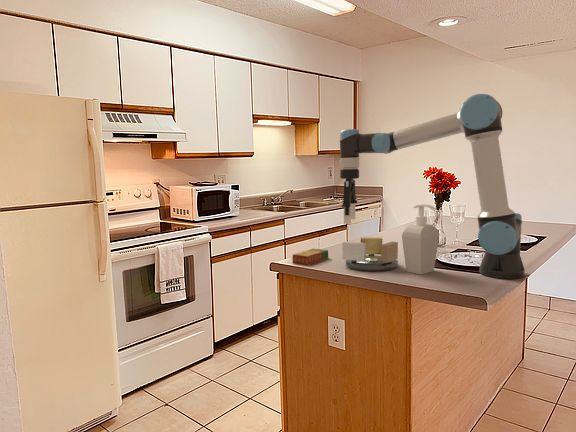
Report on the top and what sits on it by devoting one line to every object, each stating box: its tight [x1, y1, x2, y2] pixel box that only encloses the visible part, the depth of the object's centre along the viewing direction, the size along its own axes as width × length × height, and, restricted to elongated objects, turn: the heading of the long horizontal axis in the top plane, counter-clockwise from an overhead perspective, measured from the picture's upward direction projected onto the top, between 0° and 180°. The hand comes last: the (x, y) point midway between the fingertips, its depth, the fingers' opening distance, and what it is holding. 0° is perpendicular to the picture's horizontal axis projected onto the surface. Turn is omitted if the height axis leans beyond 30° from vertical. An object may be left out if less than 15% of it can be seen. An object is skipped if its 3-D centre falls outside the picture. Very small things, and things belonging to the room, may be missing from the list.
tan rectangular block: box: [380, 241, 399, 263], centre depth 177 cm, size 9×3×8 cm, turn 140°
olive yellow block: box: [360, 236, 383, 256], centre depth 190 cm, size 9×3×8 cm, turn 80°
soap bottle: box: [401, 203, 440, 275], centre depth 170 cm, size 12×10×26 cm
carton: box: [292, 248, 329, 266], centre depth 194 cm, size 8×16×4 cm, turn 143°
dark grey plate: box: [345, 254, 399, 273], centre depth 183 cm, size 21×21×3 cm
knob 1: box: [341, 241, 367, 262], centre depth 179 cm, size 9×3×8 cm, turn 64°
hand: (349, 221), depth 181 cm, fingers open, 13 cm apart
